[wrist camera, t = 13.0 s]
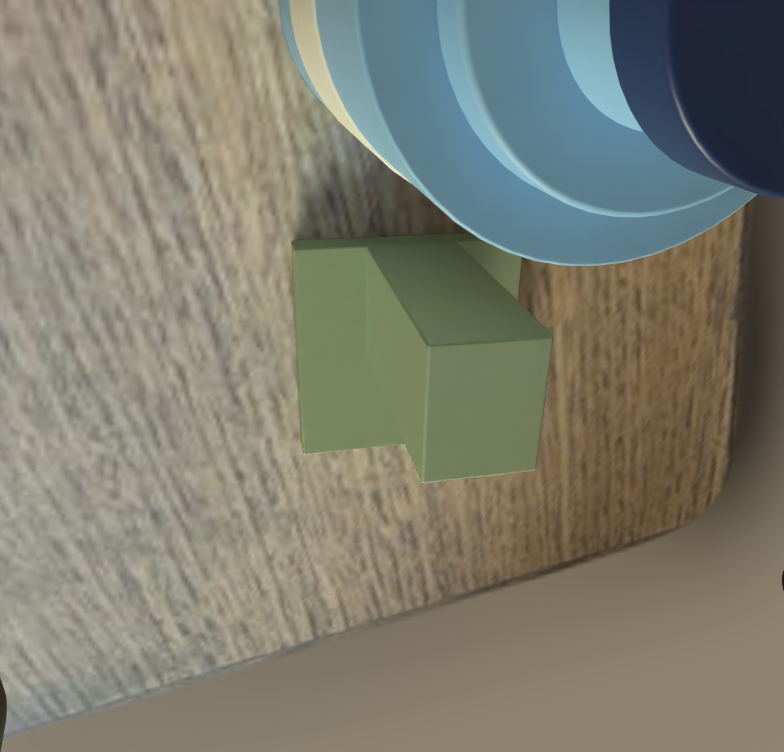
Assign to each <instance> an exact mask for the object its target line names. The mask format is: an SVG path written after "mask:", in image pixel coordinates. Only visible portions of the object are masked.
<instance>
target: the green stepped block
mask: <svg viewBox="0 0 784 752" xmlns="http://www.w3.org/2000/svg"><path fill="white" fill-rule="evenodd" d="M291 247H292V267H293V288H294V308H295V329H296V349H297V369H298V390H299V410H300V431H301V443H302V448H303V453H304V454H314V453H324V452H334V451H343V450H353V449H363V448H373V447H382V446H392V445H402V444H406V447H407V449H408V451H409V454H410V456H411V458H412V461H413V463H414V465H415V468H416V470H417V473H418V475H419V477H420V480H421V482H422V483H430V482H439V481H448V480H457V479H465V478H474V477H483V476H492V475H500V474H509V473H518V472H527V471H534V470H535V469H536V465H537V458H538V450H539V443H540V435H541V428H542V420H543V413H544V405H545V398H546V391H547V383H548V376H549V368H550V361H551V353H552V346H553V334H551V333H550V332H549V331H548V330H547V329H546V328H545V327H544V326H543V325H542V324H541V323H540V322H539V321H538V320H537V319H536V318H535V317H534V316H533V315H532V314H531V313H530V312H529V311H528V310H527V309H526V308H525V307H524V306H523V305H522V304H521V303H520V302H519V301H518V292H519V283H520V273H521V264H522V257H521V256H518V255H514V254H511V253H508V252H506V251H504V250H502V249H500V248H497V247H495V246H493V245H491V244H489V243H487V242H485V241H483V240H481V239H479V238H478V237H476V236H475V235H473V234H472V233H459V234H436V235H413V236H389V237H366V238H342V239H319V240H295V241H292V242H291Z"/></svg>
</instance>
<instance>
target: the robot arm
mask: <svg viewBox="0 0 784 752" xmlns="http://www.w3.org/2000/svg"><path fill="white" fill-rule="evenodd" d="M782 586H783V590H784V571H783V575H782ZM6 714H7V701H6V694H5V691H4V688H3V684H2V681H1V678H0V751H1V746H2V740H3V734H4V729H5V723H6Z"/></svg>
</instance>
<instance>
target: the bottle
mask: <svg viewBox="0 0 784 752" xmlns="http://www.w3.org/2000/svg"><path fill="white" fill-rule="evenodd" d="M279 5H280V15H281V21H282V26H283V30H284V35H285V39H286V42H287V45H288V47H289V50H290V53H291V56H292V58H293V60H294V62H295V64H296V66H297V68H298V70H299V72H300V74H301V76H302V77H303V79H304V80H305V82H306V83H307V85H308V86H309V88H310V89H311V91H312V92H313V93H314V94H315V95H316V97H317V98H318V99H319V100H320V101H321V102H322V103H323V104H324V105H325V106H326V107H327V108H328V109H329V110H330V111H331V112H332V114H333V115H334V116H335V117H336V118H337V119H338V121H339V122H340V123H341V124H342V125H343V126H344V127H345V128H347V129H348V130H349V131H350V132H351V133H352V134H353V135H354V136H355V137H356V138H357V139H358V140H360V141H361V142H362V143H363V144H364V145H365V146H366V147H367V148H368V149H369V150H370V151H371V152H373V153H374V154H375V155H376V156H377V157H378V158H379V159H380V160H381V161H382V162H384V163H385V164H386V165H387V166H388V167H389V168H390V169H391V170H392V171H394V172H395V173H397V174H398V175H400V176H401V177H402V178H404V179H405V180H407V181H408V182H410V183H411V184H413V185H414V186H415V187H416V188H417V189H419V190H420V191H421V192H422V193H423V194H424V195H425V196H426V197H427V198H429V199H430V200H431V201H432V202H433V203H434V204H435V205H436V206H438V207H439V208H440V209H441V210H442V211H443V212H444V213H445V214H446V215H448V216H449V217H450V218H451V219H452V220H453V221H454V222H456V223H457V224H459V225H460V226H462V227H463V228H464V229H466V230H467V231H469V232H470V233H472V234H473V235H475V236H476V237H478V238H479V239H481V240H483V241H485V242H487V243H489V244H491V245H493V246H495V247H497V248H500V249H502V250H504V251H506V252H508V253H511V254H514V255H518V256H521V257H524V258H527V259H531V260H534V261H538V262H545V263H551V264H557V265H564V266H598V265H606V264H614V263H623V262H627V261H631V260H635V259H639V258H643V257H647V256H651V255H654V254H657V253H660V252H662V251H665V250H667V249H670V248H672V247H675V246H678V245H680V244H683V243H685V242H686V241H688V240H690V239H692V238H694V237H696V236H698V235H700V234H702V233H704V232H705V231H707V230H709V229H711V228H712V227H714V226H715V225H717V224H718V223H720V222H721V221H723V220H724V219H726V218H727V217H729V216H730V215H732V214H733V213H735V212H736V211H738V210H739V209H740V208H741V207H743V206H744V205H745V204H746V203H747V202H749V201H750V200H751V199H752V198H753V197H755V196H756V195H757V194H758V195H763V196H768V197H772V198H777V199H784V0H279Z"/></svg>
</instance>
